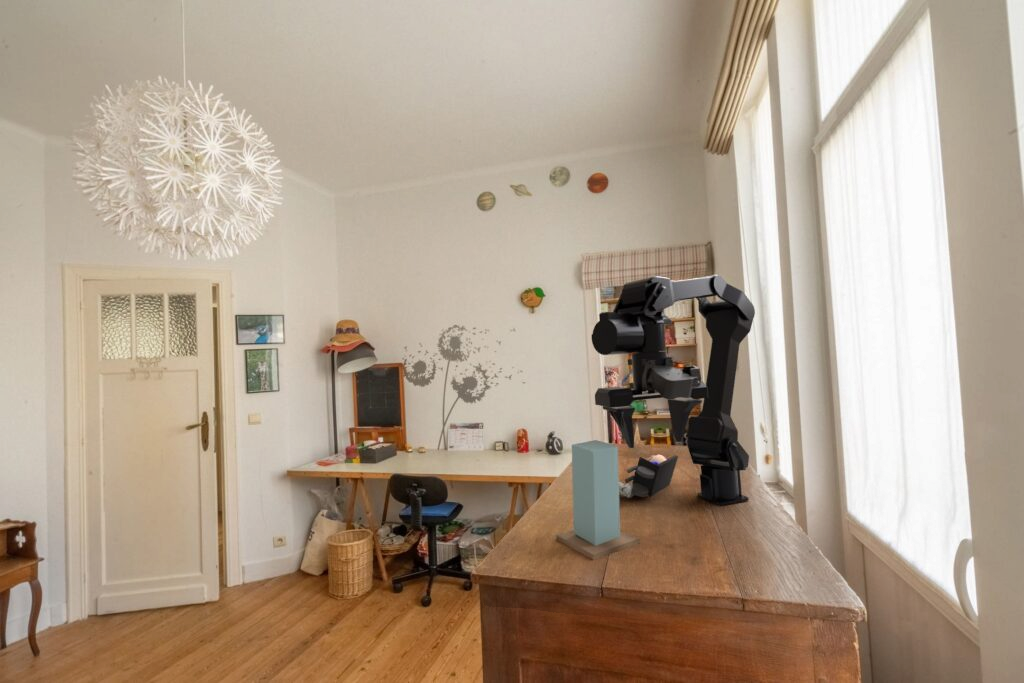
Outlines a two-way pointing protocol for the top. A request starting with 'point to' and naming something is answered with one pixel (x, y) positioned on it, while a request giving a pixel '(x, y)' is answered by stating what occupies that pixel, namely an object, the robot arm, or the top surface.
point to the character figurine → (651, 475)
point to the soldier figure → (625, 490)
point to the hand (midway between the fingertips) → (655, 444)
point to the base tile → (598, 550)
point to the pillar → (596, 491)
